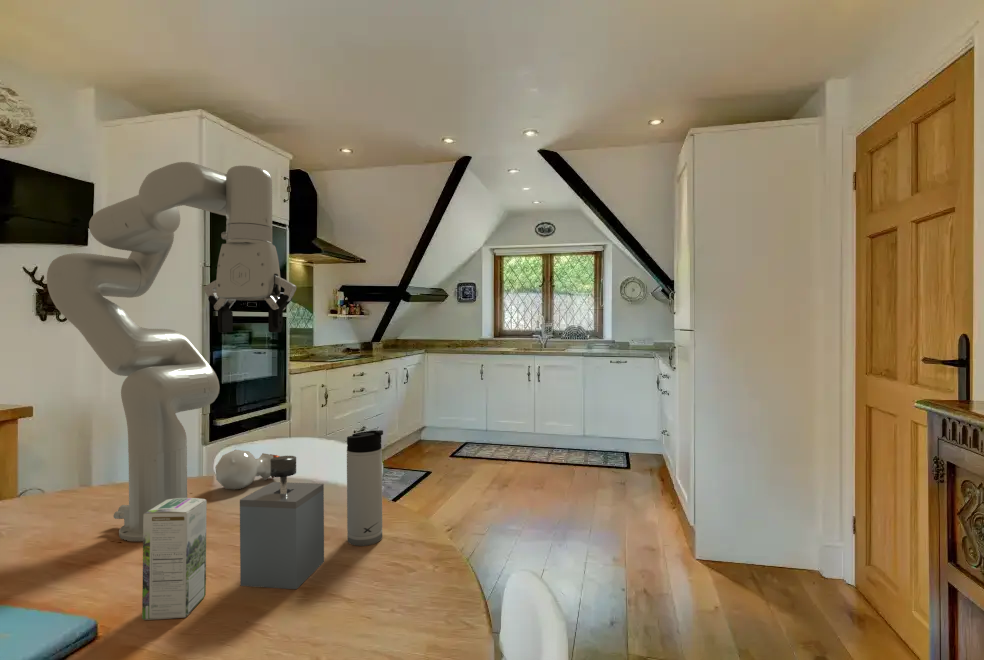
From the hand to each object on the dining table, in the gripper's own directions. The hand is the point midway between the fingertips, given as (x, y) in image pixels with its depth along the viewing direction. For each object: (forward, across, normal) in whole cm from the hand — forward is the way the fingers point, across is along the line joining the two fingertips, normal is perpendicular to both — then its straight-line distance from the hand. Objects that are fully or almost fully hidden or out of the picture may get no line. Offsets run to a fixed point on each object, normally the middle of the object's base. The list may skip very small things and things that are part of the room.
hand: (250, 332), depth 92 cm
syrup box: (+38, +3, -21) cm, 44 cm away
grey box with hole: (+38, +12, -10) cm, 41 cm away
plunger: (+35, +12, -10) cm, 38 cm away
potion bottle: (+39, -22, +32) cm, 55 cm away
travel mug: (+38, +20, +4) cm, 43 cm away
